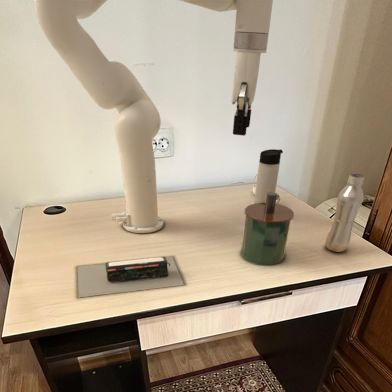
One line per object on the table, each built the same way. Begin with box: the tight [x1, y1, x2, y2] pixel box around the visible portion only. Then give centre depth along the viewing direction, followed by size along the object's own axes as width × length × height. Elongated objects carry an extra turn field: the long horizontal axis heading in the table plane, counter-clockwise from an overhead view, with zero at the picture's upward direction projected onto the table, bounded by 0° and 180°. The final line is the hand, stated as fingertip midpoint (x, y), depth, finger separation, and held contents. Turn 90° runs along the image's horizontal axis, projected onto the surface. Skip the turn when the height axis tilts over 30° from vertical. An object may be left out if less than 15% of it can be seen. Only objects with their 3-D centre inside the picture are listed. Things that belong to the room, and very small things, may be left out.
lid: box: [243, 191, 295, 224], centre depth 92 cm, size 13×13×6 cm
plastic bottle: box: [325, 173, 365, 253], centre depth 98 cm, size 6×7×20 cm
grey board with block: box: [77, 256, 185, 298], centre depth 90 cm, size 14×25×4 cm, turn 104°
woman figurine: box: [248, 184, 281, 204], centre depth 132 cm, size 12×4×18 cm
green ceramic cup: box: [241, 215, 292, 266], centre depth 97 cm, size 12×12×12 cm
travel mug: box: [253, 148, 284, 204], centre depth 115 cm, size 6×7×20 cm
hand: (241, 130), depth 93 cm, fingers open, 9 cm apart
